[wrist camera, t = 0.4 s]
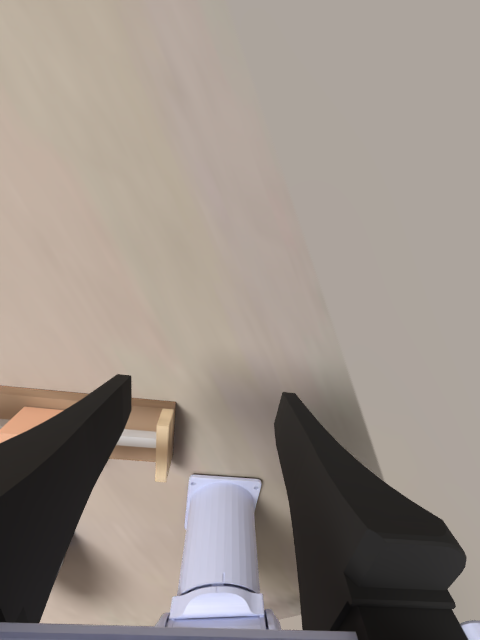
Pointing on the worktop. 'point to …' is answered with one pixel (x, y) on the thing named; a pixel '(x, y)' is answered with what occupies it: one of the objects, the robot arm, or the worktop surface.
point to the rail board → (137, 438)
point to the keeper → (26, 421)
